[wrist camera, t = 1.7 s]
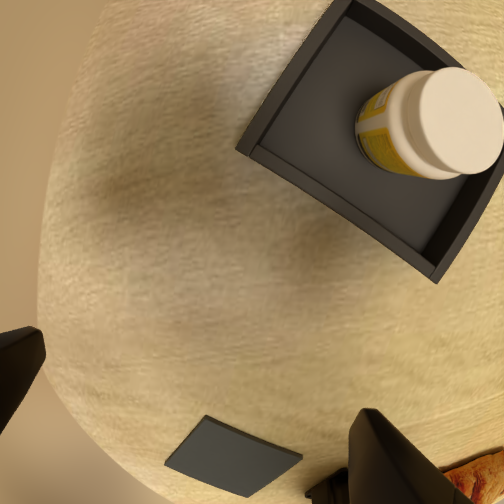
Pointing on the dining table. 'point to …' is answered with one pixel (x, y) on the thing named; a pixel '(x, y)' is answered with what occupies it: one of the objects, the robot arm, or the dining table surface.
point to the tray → (345, 144)
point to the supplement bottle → (432, 125)
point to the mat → (230, 458)
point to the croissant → (480, 478)
